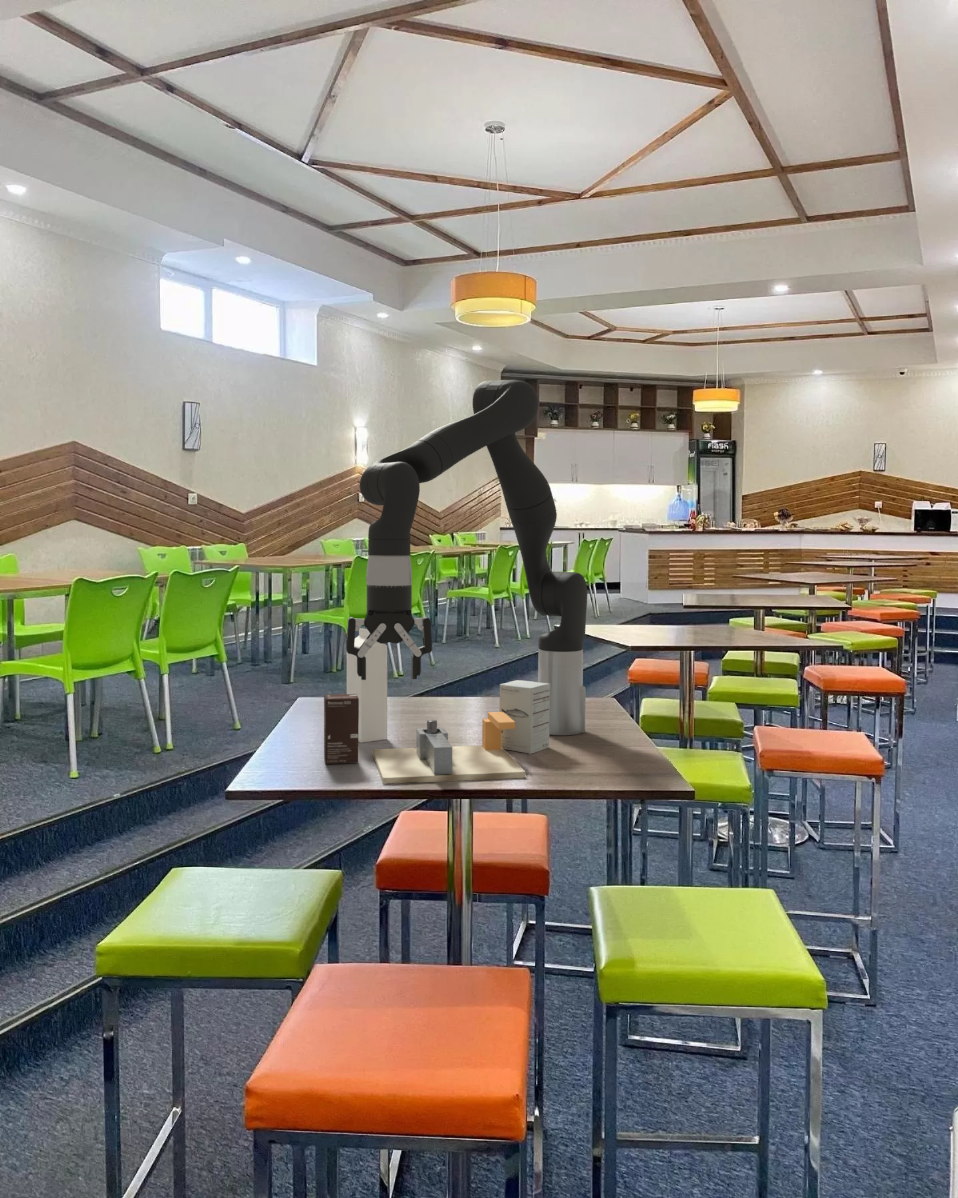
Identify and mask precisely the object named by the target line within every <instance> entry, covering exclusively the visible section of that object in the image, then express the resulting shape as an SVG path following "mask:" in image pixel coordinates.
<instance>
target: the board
mask: <svg viewBox="0 0 958 1198" xmlns="http://www.w3.org/2000/svg"><path fill="white" fill-rule="evenodd" d="M372 756H373V759H374V762H375V765H376V768H377V770H378V773H379V774H378V775H379V777H380V780H381V782H382V785H388V784H387V783H394V784H405V783H404V782H417V783H432V782H433V783H434V782H435V783H436V782H437V783H439V782H451V781H452V782H453V781H454V782H459V781H475V780H476V781H479V780H483V781H484V780H500V779H502V780H503V779H520V778H521V779H524V778H526V770H524V769H523V768H522V767H521V765H520V764H518V762H517V761H516V760H515V759H514V758H513V757H512V756H511V755H510V754H509V753H508V752H507V751H506V749H503V748H502V747H501V750H485V749H484V748H483V747H482V744H480V745H457V746H452V774H436V775H434V773H433V771H432V770H431V768H430V766H429V764H428V763H427V761H426V759H419V757H418V755H417V753H416V747H410V748H409V747H407V748H406V747H405V748H379V749H377V748H376V749H372Z"/></svg>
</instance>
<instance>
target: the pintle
mask: <svg viewBox="0 0 958 1198" xmlns="http://www.w3.org/2000/svg"><path fill="white" fill-rule="evenodd" d="M426 728H427V733H435V732H437V728H438V720H437V719H428V720H426Z"/></svg>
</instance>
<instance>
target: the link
mask: <svg viewBox="0 0 958 1198" xmlns="http://www.w3.org/2000/svg"><path fill="white" fill-rule="evenodd" d="M415 729H416V732H415V733H416V734H415V735H416V742H415V744H416V747H415V748H416V753H417V755H418V757H419V759H426V761H427V763H428V764H429V766H430V768H431V770H432V771H433V773H434V775H436V774H452V747H453V746H452V744H451V743H450V742H449V733H448V731H447V730H446V729H445V728H444V727H437V732H435V733H427V727H426V728H425V727H424V728H422V727H421V728H415Z"/></svg>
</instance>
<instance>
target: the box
mask: <svg viewBox="0 0 958 1198" xmlns="http://www.w3.org/2000/svg"><path fill="white" fill-rule="evenodd" d="M323 709H324V710H323V717H324V718H323V720H324V721H323V759H324V760H323V761H324V764H325V765H334V764H335V765H338V764H358V763H359V742H358V725H359V698H358V696H357V694H347V693H338V694H336V693H335V694H324V695H323Z"/></svg>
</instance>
